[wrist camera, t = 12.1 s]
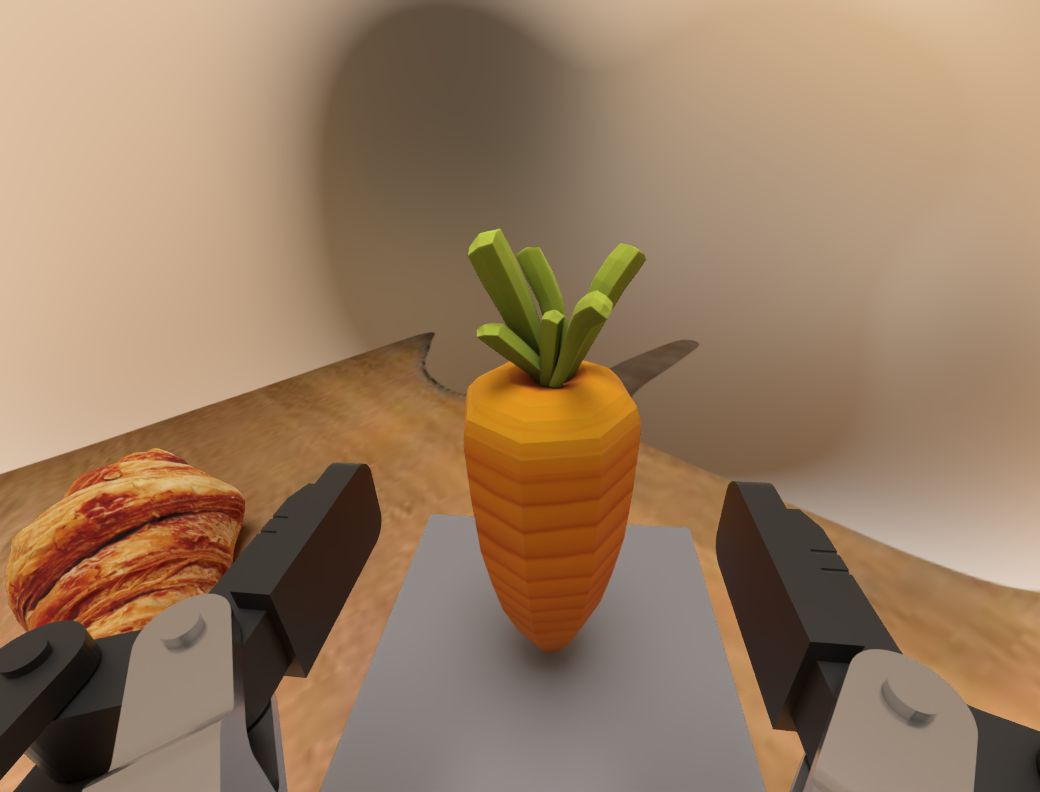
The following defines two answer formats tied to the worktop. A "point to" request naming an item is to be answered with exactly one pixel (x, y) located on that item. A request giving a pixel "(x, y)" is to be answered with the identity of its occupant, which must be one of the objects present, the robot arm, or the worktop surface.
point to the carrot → (549, 443)
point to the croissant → (124, 545)
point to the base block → (548, 684)
